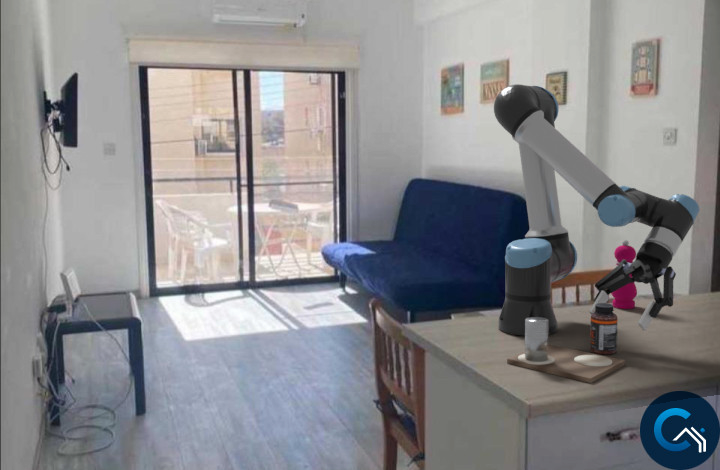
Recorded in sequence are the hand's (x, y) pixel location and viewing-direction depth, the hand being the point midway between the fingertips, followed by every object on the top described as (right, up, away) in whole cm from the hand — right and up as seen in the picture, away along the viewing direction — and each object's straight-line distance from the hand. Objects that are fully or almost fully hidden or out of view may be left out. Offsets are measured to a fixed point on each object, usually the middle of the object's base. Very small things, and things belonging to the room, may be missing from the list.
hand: (616, 321), depth 163 cm
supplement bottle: (-3, -8, +1) cm, 8 cm away
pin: (-20, -9, -7) cm, 23 cm away
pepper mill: (+19, -1, +44) cm, 48 cm away
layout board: (-14, -9, -7) cm, 18 cm away
